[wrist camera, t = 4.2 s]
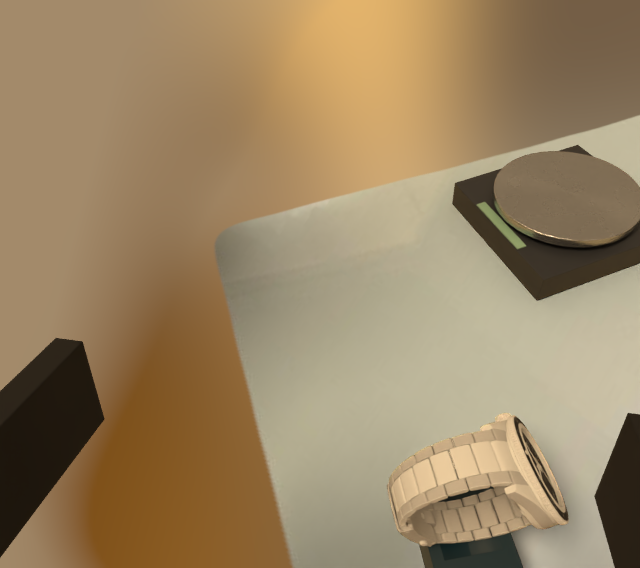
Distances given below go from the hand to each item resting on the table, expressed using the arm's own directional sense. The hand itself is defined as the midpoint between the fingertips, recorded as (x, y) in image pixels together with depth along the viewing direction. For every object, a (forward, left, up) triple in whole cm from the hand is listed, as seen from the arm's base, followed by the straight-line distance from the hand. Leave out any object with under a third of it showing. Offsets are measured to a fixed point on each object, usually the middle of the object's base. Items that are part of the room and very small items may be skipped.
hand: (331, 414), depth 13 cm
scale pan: (-2, +34, -18) cm, 39 cm away
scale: (-2, +34, -21) cm, 40 cm away
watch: (+3, +6, -21) cm, 22 cm away
